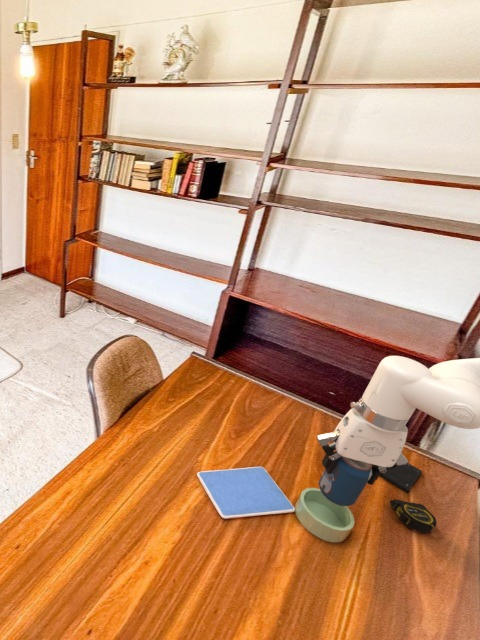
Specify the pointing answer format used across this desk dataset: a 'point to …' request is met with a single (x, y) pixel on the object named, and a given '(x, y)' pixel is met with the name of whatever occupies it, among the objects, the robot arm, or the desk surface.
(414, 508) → the tape measure
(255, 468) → the tablet
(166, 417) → the desk surface
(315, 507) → the bowl
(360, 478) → the soda can
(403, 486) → the handheld gaming console
